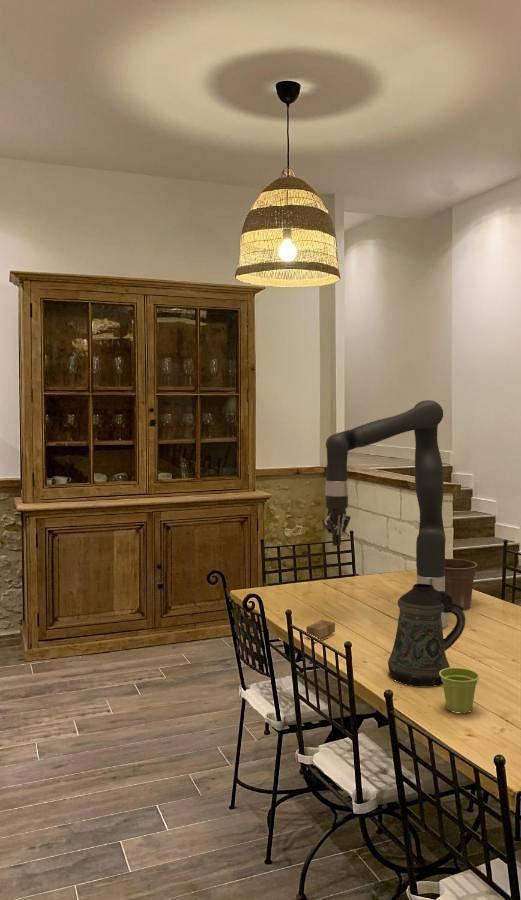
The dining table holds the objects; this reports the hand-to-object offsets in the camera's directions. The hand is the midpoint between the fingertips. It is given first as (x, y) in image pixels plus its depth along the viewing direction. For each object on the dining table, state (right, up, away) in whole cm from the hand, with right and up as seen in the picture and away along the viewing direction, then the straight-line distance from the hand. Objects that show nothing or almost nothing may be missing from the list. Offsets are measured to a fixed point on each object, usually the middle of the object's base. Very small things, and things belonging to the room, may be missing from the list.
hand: (336, 545), depth 246 cm
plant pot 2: (+22, -31, -68) cm, 78 cm away
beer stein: (+19, -30, -46) cm, 58 cm away
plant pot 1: (+45, -26, +24) cm, 57 cm away
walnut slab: (-4, -25, -8) cm, 26 cm away
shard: (-6, -29, -12) cm, 32 cm away
